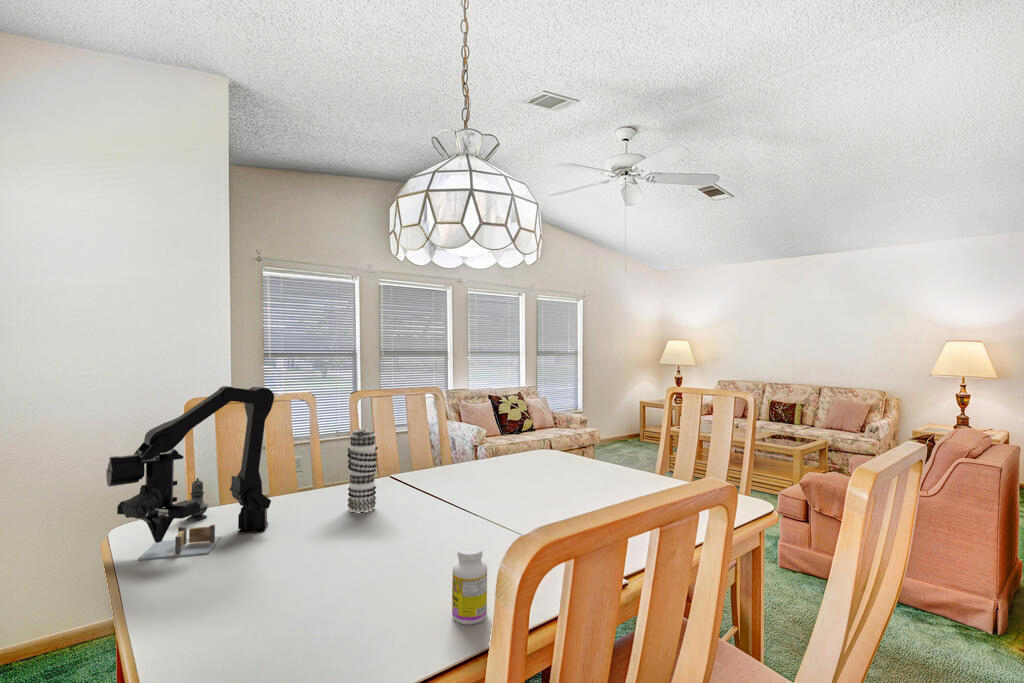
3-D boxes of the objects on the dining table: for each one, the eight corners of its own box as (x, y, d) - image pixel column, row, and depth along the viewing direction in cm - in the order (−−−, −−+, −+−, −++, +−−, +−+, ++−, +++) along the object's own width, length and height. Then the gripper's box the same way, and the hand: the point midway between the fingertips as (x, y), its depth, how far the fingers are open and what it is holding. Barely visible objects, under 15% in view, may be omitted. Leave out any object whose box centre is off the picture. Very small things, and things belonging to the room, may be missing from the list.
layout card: (220, 537, 138) (220, 535, 138) (208, 554, 127) (208, 552, 127) (156, 542, 134) (156, 541, 134) (137, 560, 123) (137, 558, 123)
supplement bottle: (452, 608, 102) (453, 543, 102) (486, 607, 102) (486, 542, 102) (451, 627, 95) (452, 556, 95) (487, 625, 96) (488, 555, 96)
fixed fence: (215, 542, 135) (215, 523, 135) (213, 544, 133) (213, 525, 133) (179, 545, 133) (179, 526, 133) (176, 547, 131) (177, 528, 131)
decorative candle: (351, 504, 168) (352, 427, 168) (379, 504, 168) (380, 427, 168) (342, 513, 159) (343, 432, 159) (373, 513, 159) (374, 432, 159)
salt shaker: (197, 522, 150) (198, 480, 150) (180, 520, 151) (180, 479, 151) (213, 515, 155) (213, 475, 156) (196, 514, 157) (196, 474, 157)
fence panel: (178, 545, 130) (178, 530, 130) (184, 544, 131) (184, 529, 131) (174, 553, 125) (175, 538, 125) (180, 552, 125) (180, 537, 126)
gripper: (96, 485, 122) (95, 551, 122) (165, 489, 119) (164, 558, 119) (138, 474, 133) (136, 535, 133) (202, 477, 130) (201, 540, 130)
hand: (158, 542), depth 128 cm, fingers closed
